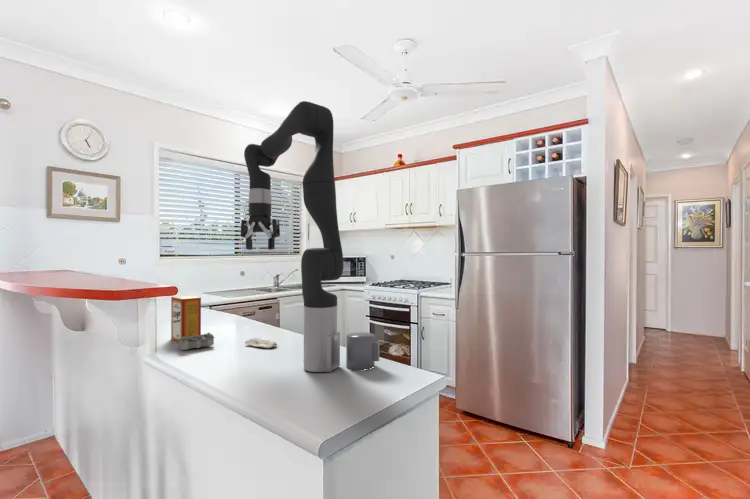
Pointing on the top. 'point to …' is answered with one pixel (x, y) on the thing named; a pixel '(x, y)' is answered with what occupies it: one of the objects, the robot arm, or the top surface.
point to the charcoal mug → (361, 351)
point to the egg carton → (196, 341)
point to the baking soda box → (185, 316)
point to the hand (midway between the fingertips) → (260, 249)
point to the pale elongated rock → (261, 342)
